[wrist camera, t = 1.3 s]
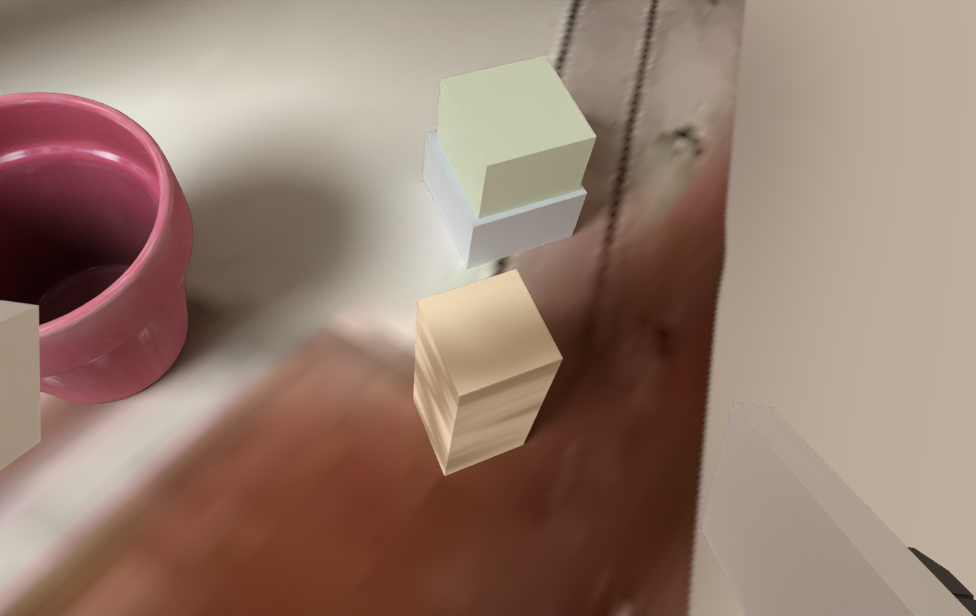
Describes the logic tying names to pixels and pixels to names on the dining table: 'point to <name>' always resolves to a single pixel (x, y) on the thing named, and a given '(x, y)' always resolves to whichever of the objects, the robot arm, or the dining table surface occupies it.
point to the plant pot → (92, 244)
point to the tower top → (513, 135)
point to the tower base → (498, 231)
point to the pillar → (481, 369)
